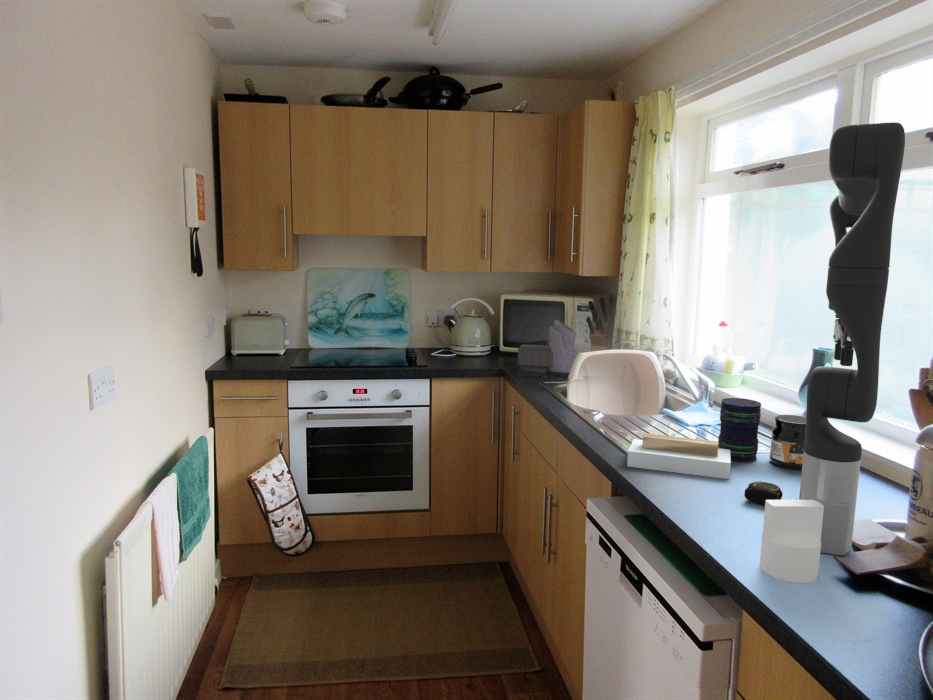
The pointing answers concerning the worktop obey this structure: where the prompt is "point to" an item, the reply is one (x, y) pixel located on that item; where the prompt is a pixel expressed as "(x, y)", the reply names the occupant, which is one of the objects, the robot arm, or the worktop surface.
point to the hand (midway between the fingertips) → (842, 362)
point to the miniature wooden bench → (680, 444)
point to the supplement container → (788, 441)
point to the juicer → (549, 354)
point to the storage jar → (740, 428)
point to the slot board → (680, 461)
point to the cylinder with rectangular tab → (792, 539)
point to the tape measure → (762, 492)
